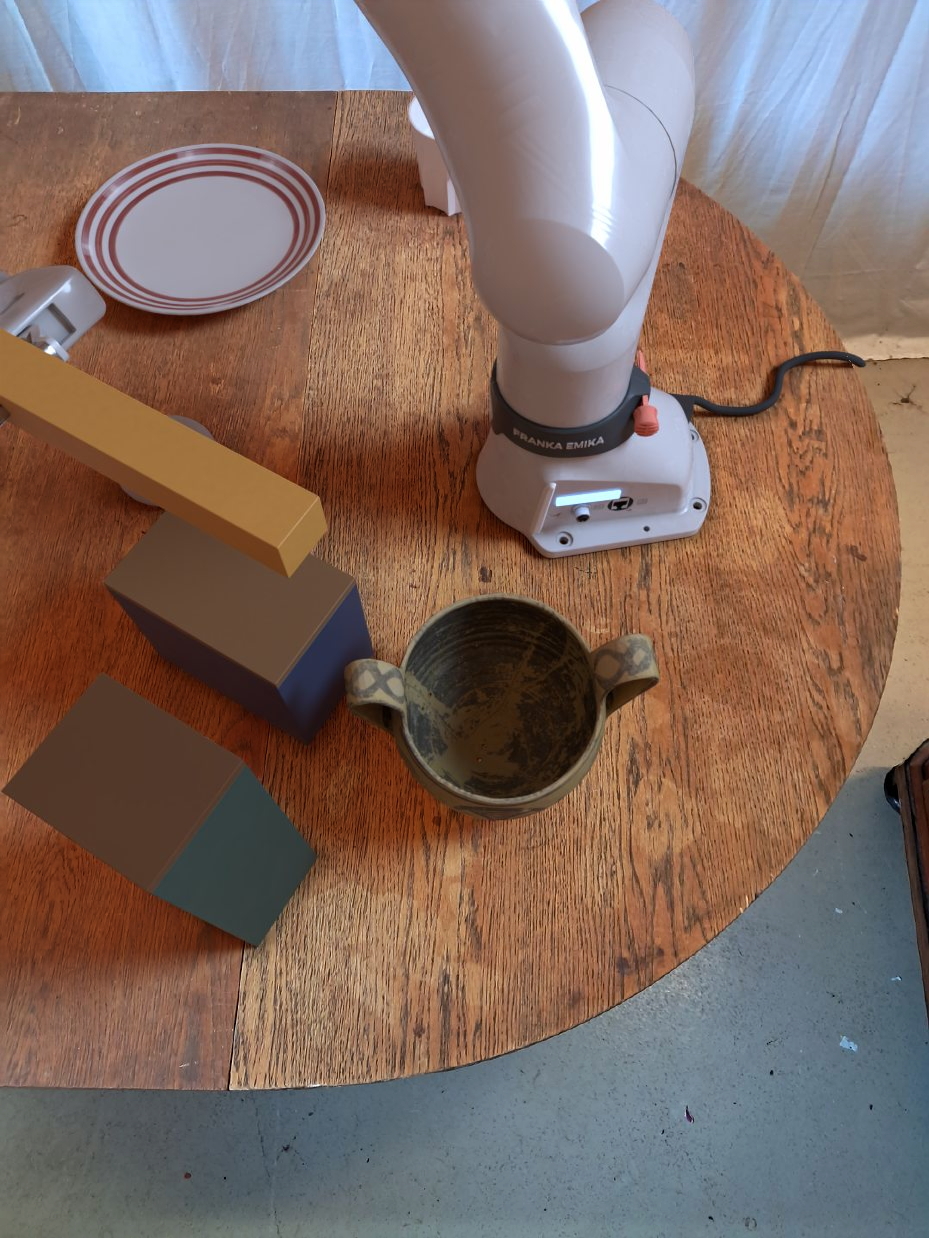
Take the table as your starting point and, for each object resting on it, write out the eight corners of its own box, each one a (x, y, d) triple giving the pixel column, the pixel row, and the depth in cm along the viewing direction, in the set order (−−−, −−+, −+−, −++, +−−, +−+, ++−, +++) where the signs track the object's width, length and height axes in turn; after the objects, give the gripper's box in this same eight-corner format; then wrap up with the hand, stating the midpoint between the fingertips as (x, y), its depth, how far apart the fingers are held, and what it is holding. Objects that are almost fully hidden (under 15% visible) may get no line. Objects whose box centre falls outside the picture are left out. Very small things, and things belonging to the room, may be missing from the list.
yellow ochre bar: (-37, 397, 58) (-66, 359, 55) (7, 356, 59) (-19, 317, 56) (288, 579, 52) (277, 548, 49) (328, 529, 53) (319, 496, 50)
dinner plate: (113, 160, 108) (103, 135, 105) (340, 165, 107) (336, 139, 104) (59, 333, 96) (46, 310, 93) (314, 339, 95) (309, 316, 92)
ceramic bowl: (611, 637, 80) (640, 551, 66) (645, 827, 72) (684, 775, 59) (361, 658, 79) (337, 575, 65) (368, 852, 71) (344, 804, 58)
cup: (407, 168, 107) (402, 88, 98) (490, 157, 107) (491, 76, 99) (421, 226, 102) (416, 147, 94) (507, 215, 103) (510, 135, 94)
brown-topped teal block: (156, 878, 71) (0, 790, 47) (219, 793, 74) (101, 671, 50) (257, 947, 68) (146, 891, 45) (318, 856, 71) (243, 759, 48)
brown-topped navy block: (160, 657, 79) (101, 582, 66) (230, 572, 83) (186, 485, 70) (308, 746, 75) (275, 685, 63) (374, 653, 79) (355, 577, 66)
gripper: (-212, 449, 59) (-150, 464, 50) (9, 255, 66) (98, 238, 57) (-128, 515, 63) (-57, 540, 54) (71, 326, 70) (162, 320, 61)
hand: (25, 383), depth 56 cm, fingers closed on yellow ochre bar, 4 cm apart
